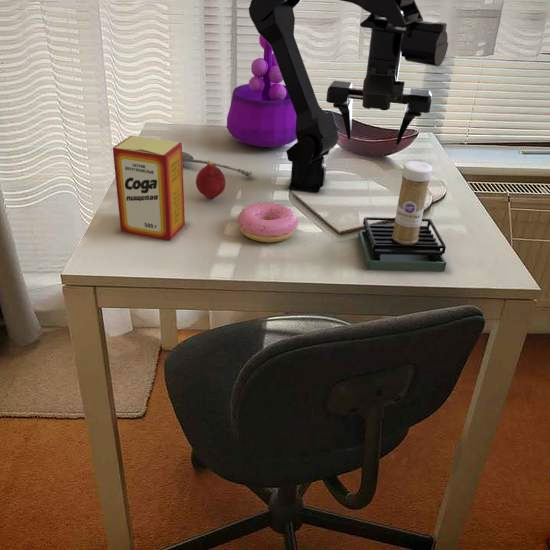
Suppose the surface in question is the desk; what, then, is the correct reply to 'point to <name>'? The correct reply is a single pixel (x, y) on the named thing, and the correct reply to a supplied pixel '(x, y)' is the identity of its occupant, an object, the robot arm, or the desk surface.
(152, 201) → the baking soda box
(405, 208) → the sprinkles bottle
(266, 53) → the decorative plant
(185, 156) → the soupspoon
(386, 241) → the rack
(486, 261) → the desk surface
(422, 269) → the drip tray
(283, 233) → the doughnut
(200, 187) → the onion
